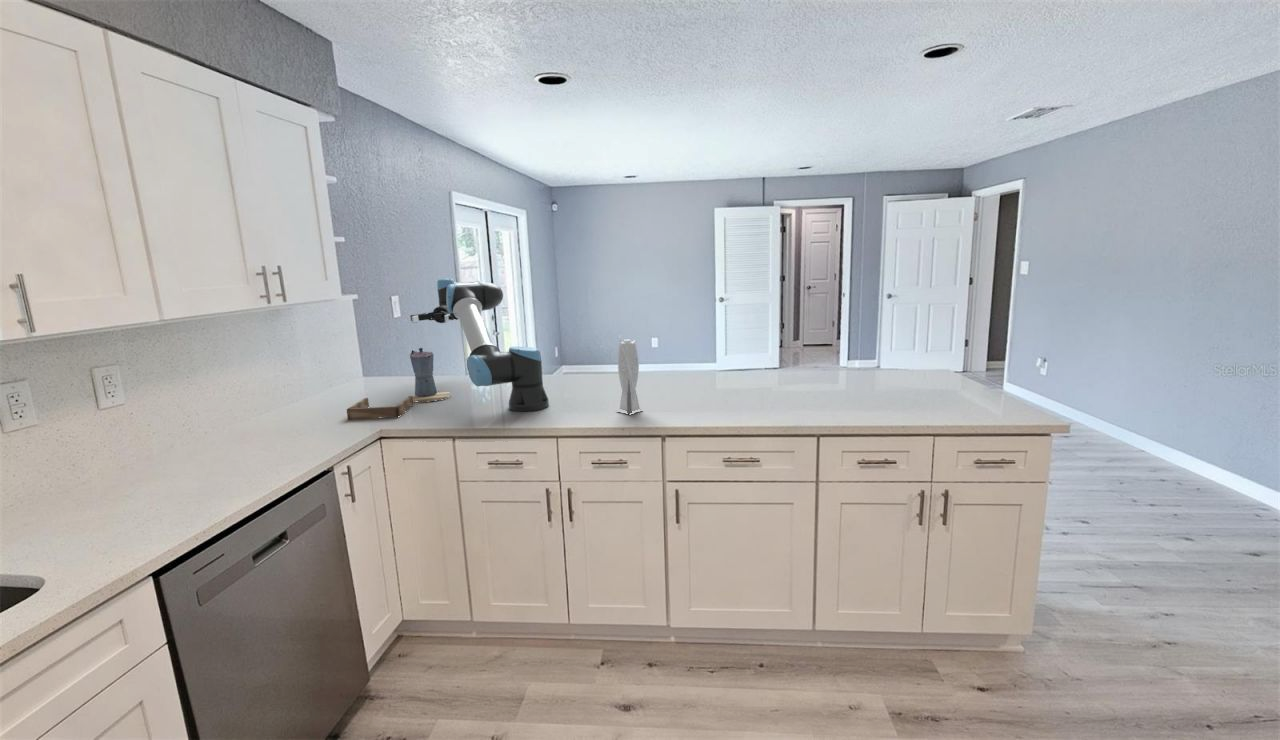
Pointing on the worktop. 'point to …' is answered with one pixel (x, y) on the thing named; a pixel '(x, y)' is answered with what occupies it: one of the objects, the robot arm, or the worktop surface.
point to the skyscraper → (628, 375)
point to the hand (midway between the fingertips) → (429, 319)
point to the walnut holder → (377, 409)
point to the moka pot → (423, 373)
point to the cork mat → (432, 397)
